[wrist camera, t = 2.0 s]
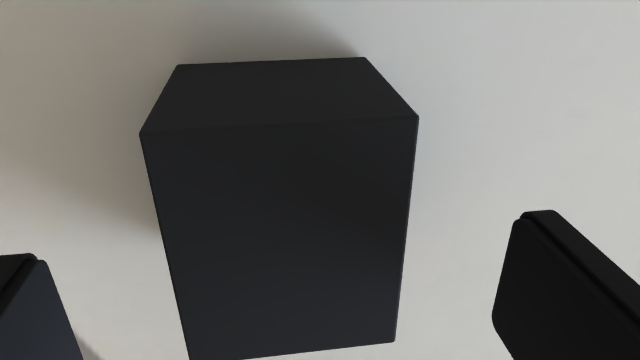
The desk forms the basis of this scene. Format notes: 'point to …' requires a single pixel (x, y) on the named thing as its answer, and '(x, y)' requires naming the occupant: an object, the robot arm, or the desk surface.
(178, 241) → the dark grey block
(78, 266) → the desk surface
